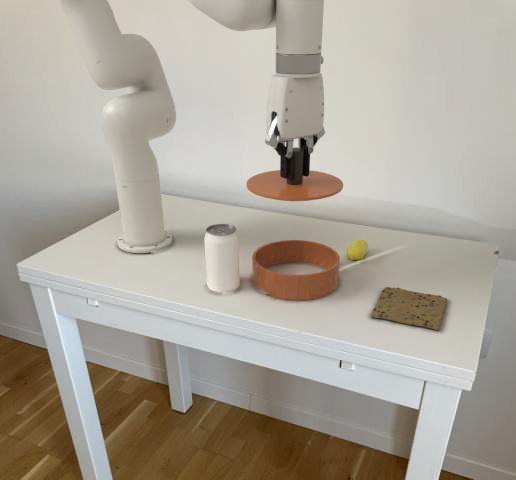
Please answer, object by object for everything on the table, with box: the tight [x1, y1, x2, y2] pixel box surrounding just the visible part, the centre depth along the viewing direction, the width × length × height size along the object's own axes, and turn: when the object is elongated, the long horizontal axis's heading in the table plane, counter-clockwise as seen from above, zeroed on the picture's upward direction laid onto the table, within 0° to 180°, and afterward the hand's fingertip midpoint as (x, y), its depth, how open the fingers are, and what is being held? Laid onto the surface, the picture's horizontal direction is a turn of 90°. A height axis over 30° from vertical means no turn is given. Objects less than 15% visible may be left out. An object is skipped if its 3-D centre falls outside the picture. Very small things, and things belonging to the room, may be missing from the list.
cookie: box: [371, 286, 448, 331], centre depth 99 cm, size 12×12×1 cm
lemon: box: [346, 238, 369, 261], centre depth 117 cm, size 4×8×4 cm, turn 153°
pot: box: [251, 239, 341, 302], centre depth 108 cm, size 17×17×5 cm
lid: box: [245, 147, 344, 202], centre depth 99 cm, size 18×18×7 cm
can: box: [203, 223, 241, 293], centre depth 104 cm, size 6×6×12 cm
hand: (294, 175), depth 100 cm, fingers closed on lid, 3 cm apart
